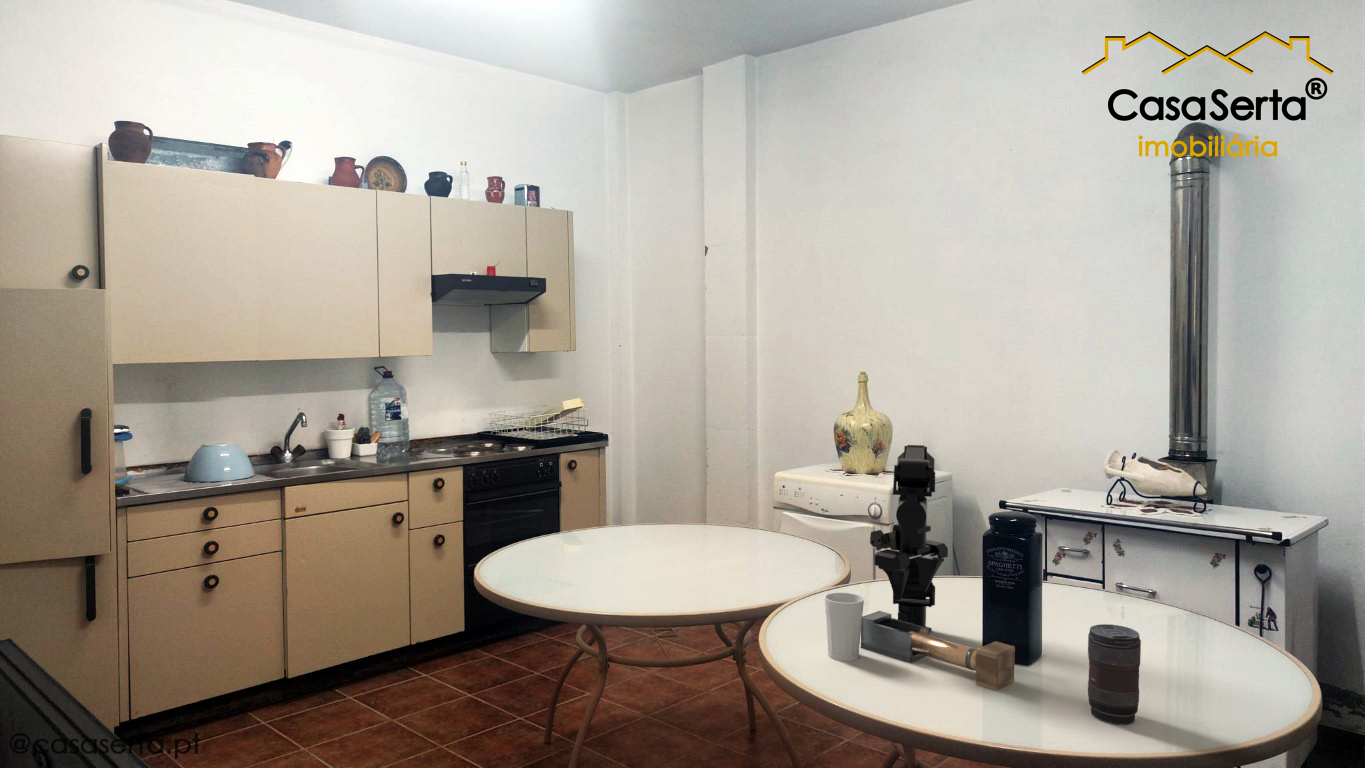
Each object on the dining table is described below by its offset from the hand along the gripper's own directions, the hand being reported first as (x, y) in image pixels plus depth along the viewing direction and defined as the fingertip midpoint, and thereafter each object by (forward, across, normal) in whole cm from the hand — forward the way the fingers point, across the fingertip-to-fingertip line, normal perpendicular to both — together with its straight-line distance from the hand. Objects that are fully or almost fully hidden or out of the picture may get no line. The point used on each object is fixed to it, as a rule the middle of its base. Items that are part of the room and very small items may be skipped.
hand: (910, 595), depth 181 cm
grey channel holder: (+12, +2, -2) cm, 12 cm away
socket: (+12, +2, +20) cm, 23 cm away
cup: (+12, +12, -8) cm, 19 cm away
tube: (+11, +2, +11) cm, 15 cm away
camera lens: (+12, +1, +41) cm, 43 cm away
